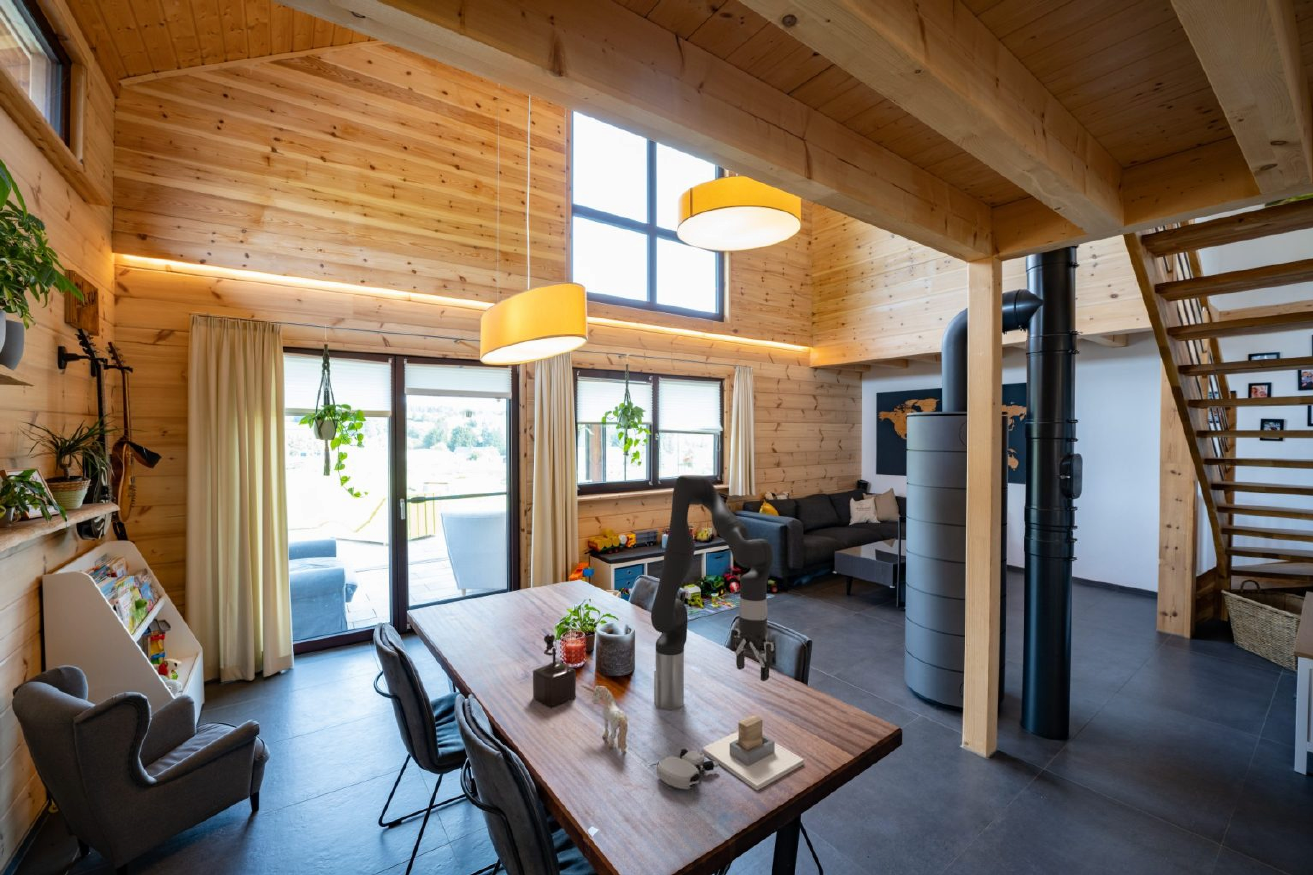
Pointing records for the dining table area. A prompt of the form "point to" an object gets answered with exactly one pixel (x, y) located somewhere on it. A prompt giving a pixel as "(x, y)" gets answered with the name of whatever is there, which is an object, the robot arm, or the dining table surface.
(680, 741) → the dining table surface
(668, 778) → the robot toy
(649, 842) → the dining table surface
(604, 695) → the unicorn figurine
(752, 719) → the tall wooden peg block
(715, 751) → the socket base
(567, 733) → the dining table surface
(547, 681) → the dark block with post
